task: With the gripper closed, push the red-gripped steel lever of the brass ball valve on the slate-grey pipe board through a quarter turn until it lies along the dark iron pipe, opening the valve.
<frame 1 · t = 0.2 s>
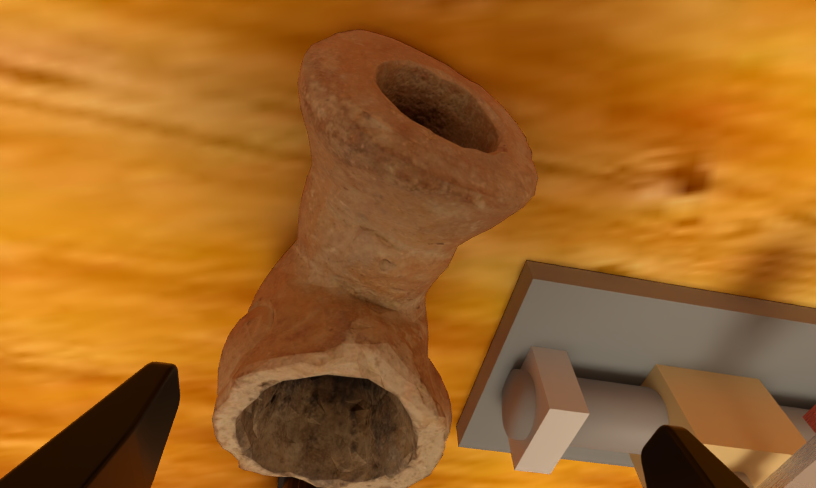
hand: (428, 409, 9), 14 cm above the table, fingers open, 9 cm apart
valve board: (672, 380, 30), on the table
pipe: (374, 213, 24), on the table
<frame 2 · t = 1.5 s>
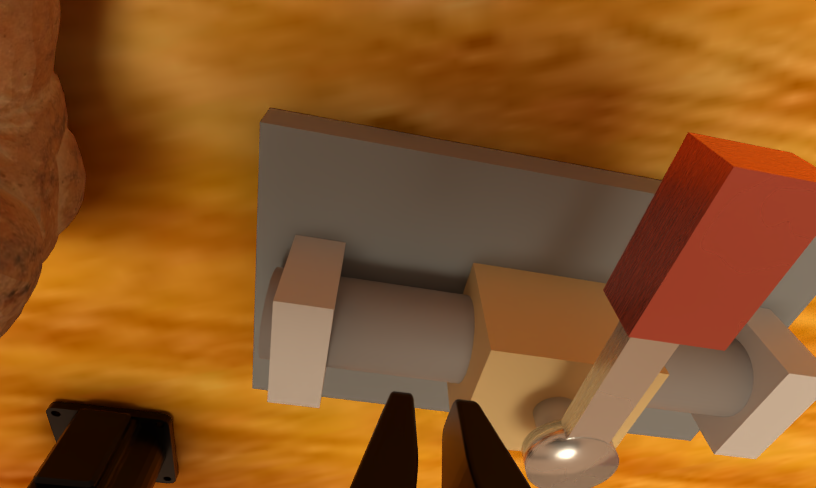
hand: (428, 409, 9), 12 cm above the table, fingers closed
valve board: (519, 297, 23), on the table
lever: (633, 361, 14), point 8 cm above the table, hinge at 0.0°
pipe: (29, 27, 17), on the table
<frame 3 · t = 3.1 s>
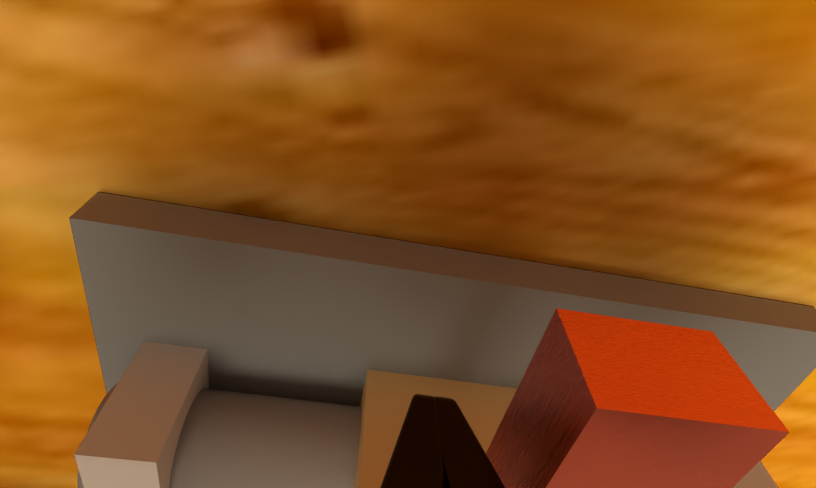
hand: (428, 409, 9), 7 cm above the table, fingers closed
valve board: (438, 394, 20), on the table
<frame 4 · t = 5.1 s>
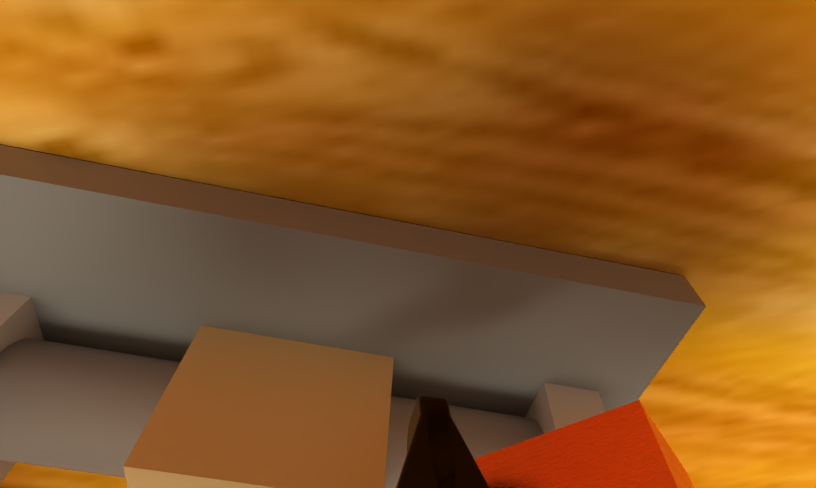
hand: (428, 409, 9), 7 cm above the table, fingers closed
valve board: (302, 360, 19), on the table
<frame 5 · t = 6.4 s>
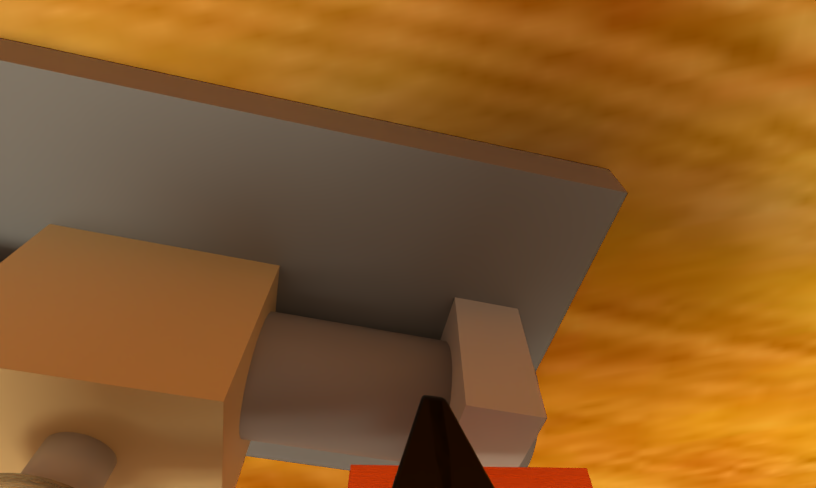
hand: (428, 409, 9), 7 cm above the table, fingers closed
valve board: (190, 283, 17), on the table
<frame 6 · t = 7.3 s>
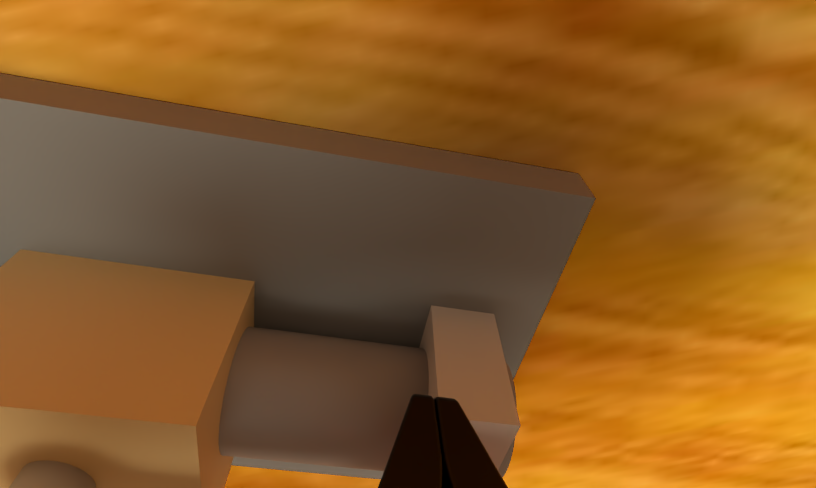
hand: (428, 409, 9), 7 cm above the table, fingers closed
valve board: (169, 300, 17), on the table
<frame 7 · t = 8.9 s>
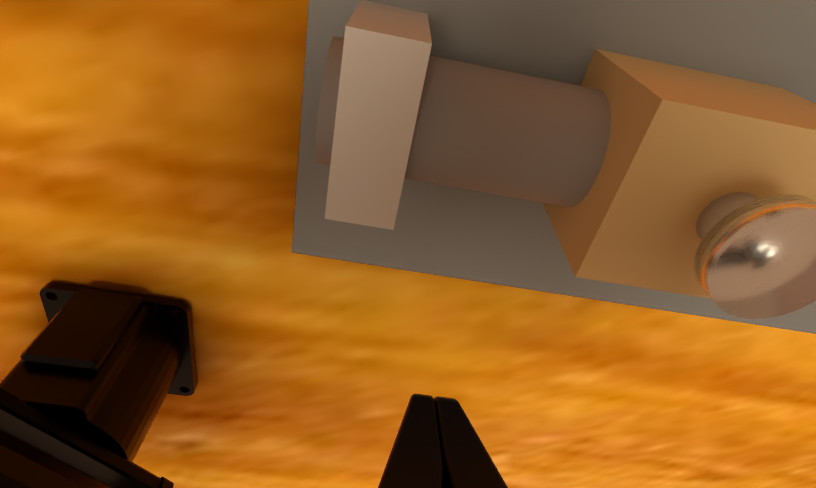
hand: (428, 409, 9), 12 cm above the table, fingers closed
valve board: (635, 128, 18), on the table
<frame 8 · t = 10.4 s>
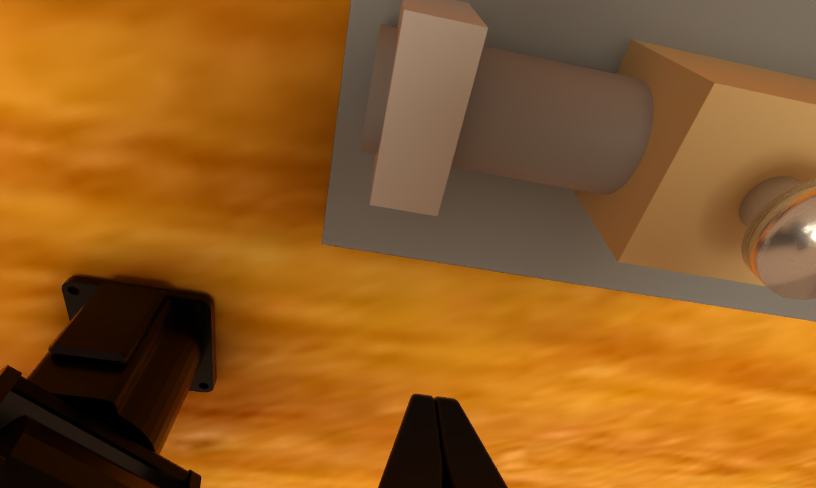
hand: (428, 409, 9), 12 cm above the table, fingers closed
valve board: (663, 120, 18), on the table
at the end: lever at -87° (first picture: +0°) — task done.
